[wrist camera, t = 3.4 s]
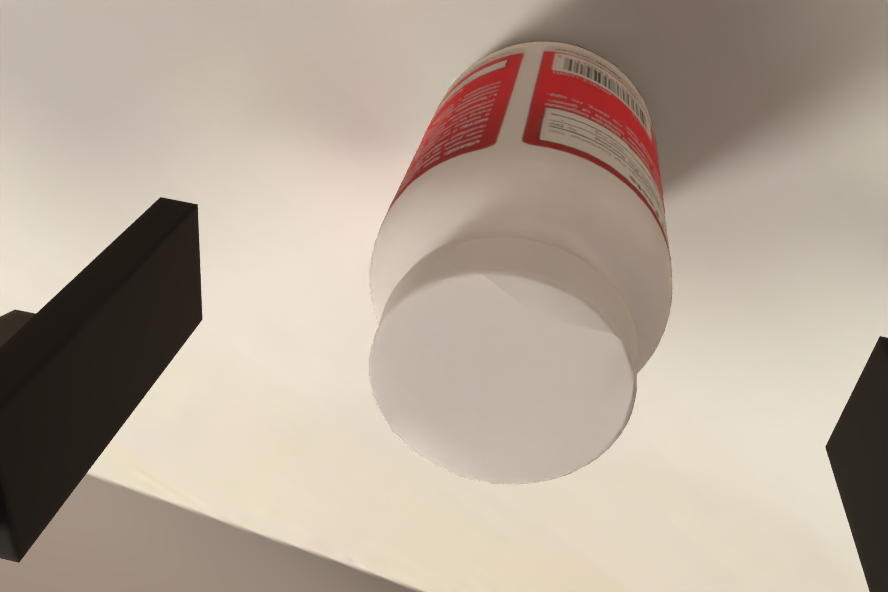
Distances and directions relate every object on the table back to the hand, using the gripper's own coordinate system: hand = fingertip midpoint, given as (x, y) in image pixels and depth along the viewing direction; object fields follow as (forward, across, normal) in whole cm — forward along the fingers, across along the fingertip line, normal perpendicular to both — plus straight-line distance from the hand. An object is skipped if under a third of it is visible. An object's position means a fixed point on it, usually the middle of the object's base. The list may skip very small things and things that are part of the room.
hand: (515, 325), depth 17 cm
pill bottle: (+9, 0, 0) cm, 9 cm away
